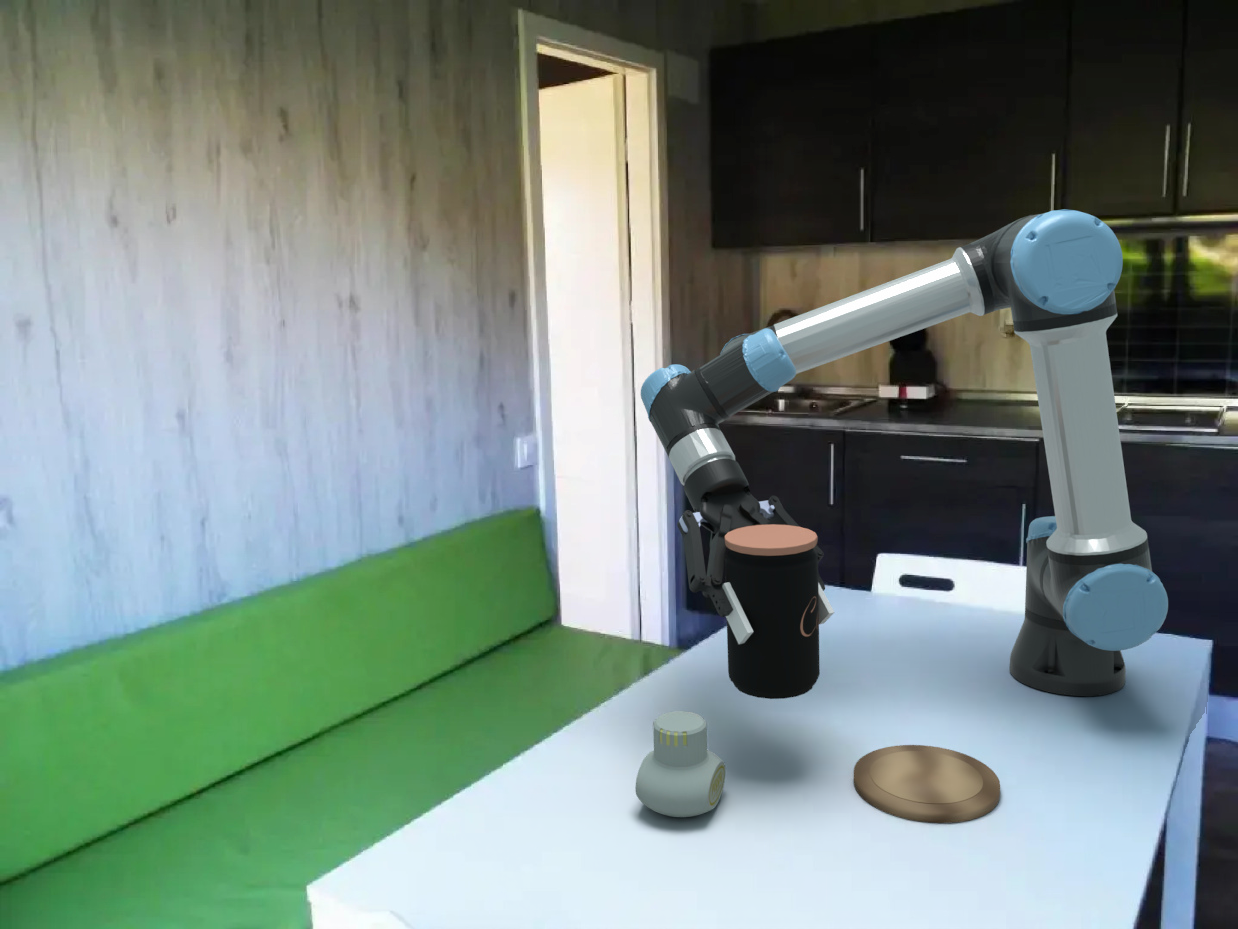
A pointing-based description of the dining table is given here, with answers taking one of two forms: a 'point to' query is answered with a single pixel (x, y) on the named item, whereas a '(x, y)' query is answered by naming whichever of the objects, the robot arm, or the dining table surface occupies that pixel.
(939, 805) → the trivet
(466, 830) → the dining table surface
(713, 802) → the air freshener
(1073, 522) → the robot arm
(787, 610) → the coffee jar
